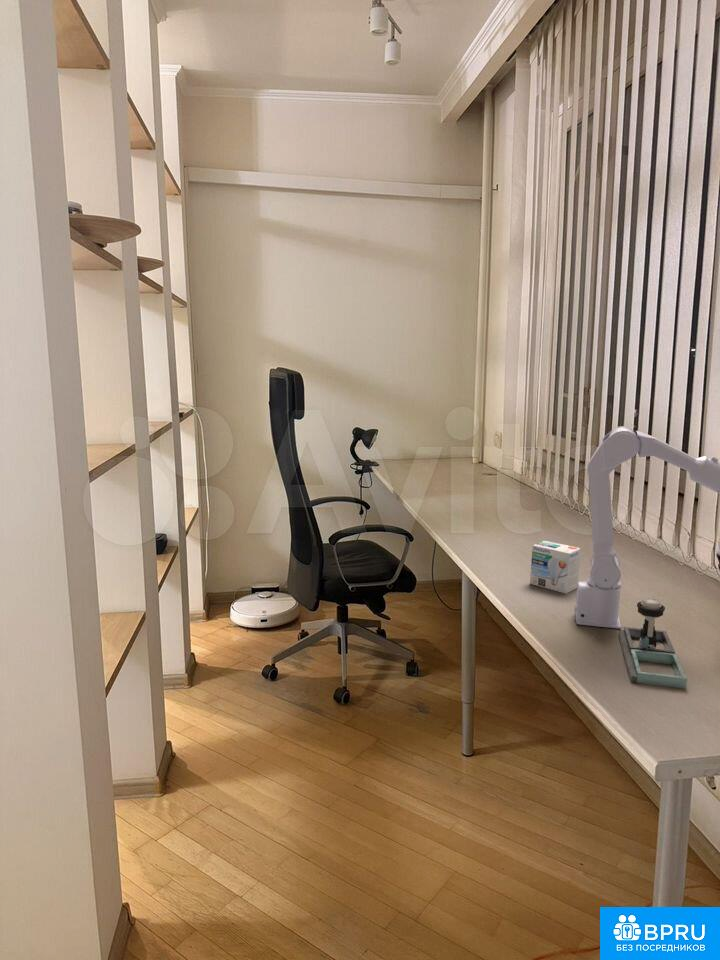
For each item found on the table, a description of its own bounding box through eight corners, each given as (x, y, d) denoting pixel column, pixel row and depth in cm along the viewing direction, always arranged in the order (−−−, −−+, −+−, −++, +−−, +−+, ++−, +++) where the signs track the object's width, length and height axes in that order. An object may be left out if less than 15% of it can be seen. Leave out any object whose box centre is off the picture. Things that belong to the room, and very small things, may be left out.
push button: (665, 656, 141) (670, 609, 139) (637, 653, 142) (641, 607, 140) (657, 642, 148) (661, 597, 146) (631, 640, 148) (635, 595, 147)
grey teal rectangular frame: (631, 682, 130) (631, 672, 129) (618, 635, 151) (619, 626, 151) (685, 688, 128) (686, 678, 127) (665, 640, 149) (666, 631, 149)
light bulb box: (528, 584, 183) (531, 544, 181) (541, 578, 188) (544, 539, 186) (566, 594, 176) (569, 553, 174) (578, 587, 181) (581, 547, 179)
